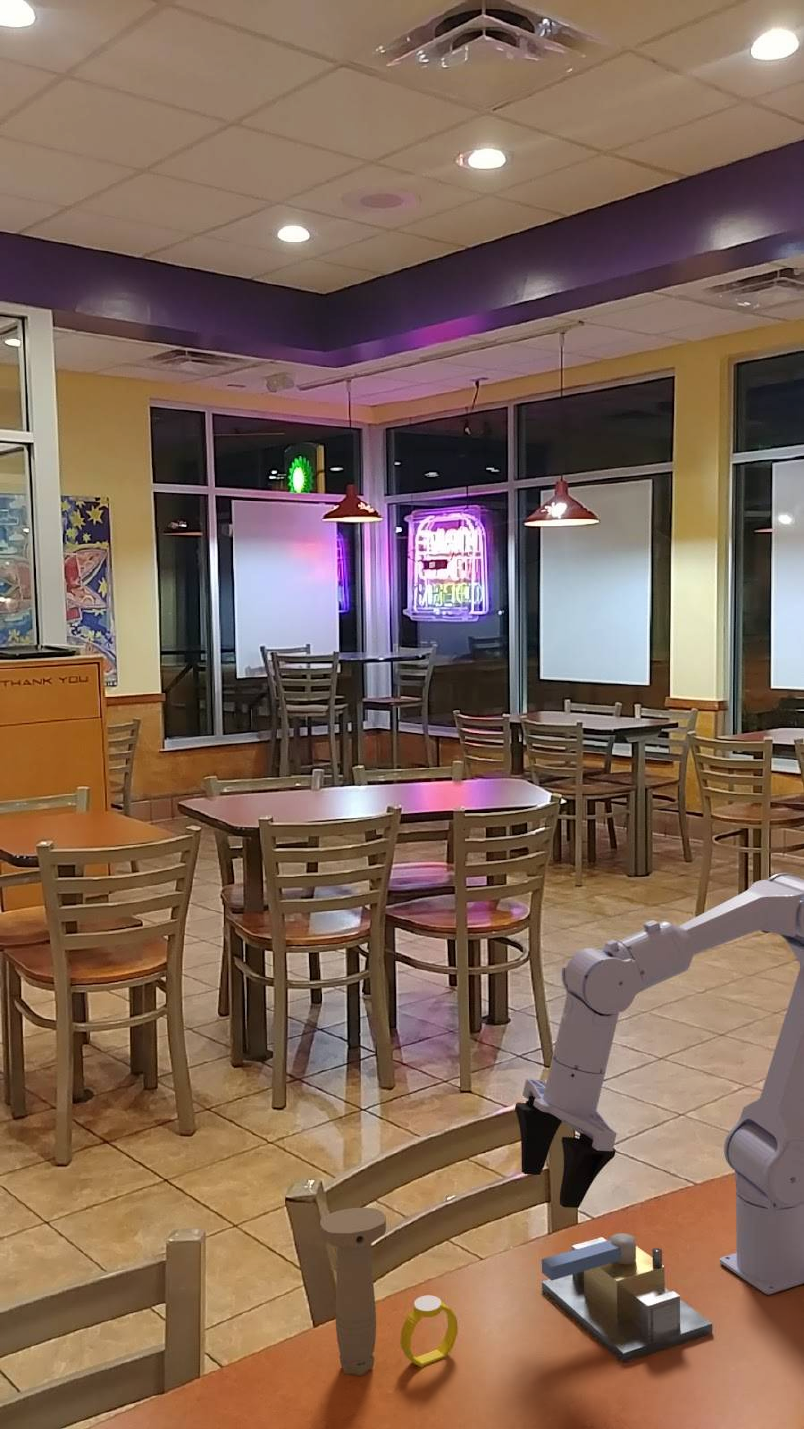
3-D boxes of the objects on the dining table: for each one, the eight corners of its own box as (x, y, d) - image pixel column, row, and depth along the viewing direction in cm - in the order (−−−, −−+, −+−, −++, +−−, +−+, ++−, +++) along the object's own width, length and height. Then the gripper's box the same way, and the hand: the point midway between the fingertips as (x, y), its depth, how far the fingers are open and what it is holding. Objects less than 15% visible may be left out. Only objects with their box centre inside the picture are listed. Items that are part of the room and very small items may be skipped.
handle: (395, 1374, 118) (391, 1225, 117) (331, 1388, 116) (327, 1237, 115) (381, 1347, 123) (377, 1203, 122) (319, 1360, 121) (315, 1214, 120)
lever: (626, 1249, 130) (626, 1231, 130) (641, 1260, 127) (640, 1241, 127) (540, 1274, 125) (539, 1255, 125) (553, 1286, 123) (553, 1267, 123)
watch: (413, 1379, 118) (408, 1321, 118) (398, 1364, 121) (393, 1308, 120) (464, 1354, 121) (459, 1297, 121) (448, 1340, 124) (443, 1285, 123)
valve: (625, 1265, 138) (624, 1203, 137) (712, 1332, 124) (711, 1264, 124) (542, 1290, 133) (540, 1226, 132) (623, 1362, 119) (622, 1292, 119)
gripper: (512, 1037, 133) (484, 1158, 133) (586, 1086, 120) (555, 1220, 120) (565, 1042, 136) (537, 1160, 136) (643, 1091, 123) (612, 1222, 123)
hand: (549, 1189), depth 128 cm, fingers open, 7 cm apart
